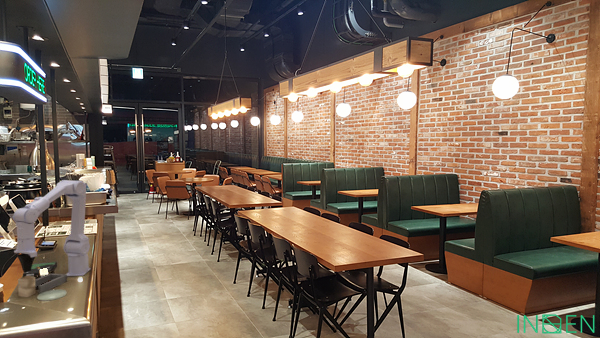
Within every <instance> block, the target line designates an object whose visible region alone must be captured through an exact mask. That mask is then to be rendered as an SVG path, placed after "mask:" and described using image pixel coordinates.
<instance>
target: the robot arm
mask: <svg viewBox="0 0 600 338" xmlns="http://www.w3.org/2000/svg"><path fill="white" fill-rule="evenodd" d="M63 195H64V196H66V197H68V198H70V200H71V201H72V204H71V220H70V221H71V222H70V234H69V235H68V236H67V237H65V242H64V244H63V251H64V252H65V254H66V256H67V261H68V262H67V265H68V267H67V268H68V270H67V271H68V272H66V274H65V275H67V277H81V276H82V277H83V276H84V275H86V274H87V273H88V272H89V271H91V267H90V266H89V255H88V253H89V251H90V250H91V249H90V248H91V245H90V241H89V240H90V238H89V237H88V236H87V235H86V234H85V221H86V220H85V218H86V205H87V204H86V202H87V184H86V183H85V182H84V181H83V180H72V179H71V180H67V179H62V180H60V181H59V182H57V183H56V186H54V188H52V189H51V190H50V191H49V192H48V193H47V194H45V195H44V196H37V197H35V198H34V199H33V200H32V201H31V202H29V203H28V204H26V205H25V206H23V207H21V208H17V209H16V210H15V211H14V213H13V215H12V216H11V217H12V218H11V219H12V220H13V221H14V223H15V226H16V238H17V239H16V240H17V245H16V246H15V247H16V248H15V250H13V252H14V254H16V257H17V259H18V260H19V262H20V265H21V268H22V272H23V273H24V272H29V271H31V268H32V265H33V264H34V260H35V259H36V257H38V252H37V247H36V235H35V233H36V232H35V222H37V220H38V218H39V216H40V215H41V214H42V213H43V212H45V210H47V209H48V208H50V205H51V203H52V202H54V201H55V200H57V199H58V198H61V196H63Z"/></svg>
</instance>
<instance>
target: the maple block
mask: <svg viewBox="0 0 600 338" xmlns="http://www.w3.org/2000/svg"><path fill="white" fill-rule="evenodd" d="M35 280H36V277H33V276H25V277H23V276H22V277H20V278H18V279H17V288H18V289H17V290H18V297H20V298H30V297H31V296H33V295H35V294H37V293H36V292H37V291H36V289H37V287H35Z"/></svg>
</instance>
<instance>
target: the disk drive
mask: <svg viewBox="0 0 600 338" xmlns="http://www.w3.org/2000/svg"><path fill="white" fill-rule="evenodd" d="M57 267H58V262H57V261H53V262H43V263H33V264H32V268H31V271H29V272H23V273H22V278H23V277H25V276H33V277H34V276H36V275H38V274H39V270H40V269H43V268H47V269H48V272H50V271H52V270H53V271H54V270H55V269H56V268H57Z"/></svg>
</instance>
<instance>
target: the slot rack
mask: <svg viewBox="0 0 600 338" xmlns="http://www.w3.org/2000/svg"><path fill="white" fill-rule="evenodd" d="M48 280H51V281H49V282H46V281H48ZM44 282H46V283H44ZM67 282H68V276H67V275H66V274H62V273H60V274H58V273H53V272H52V273H50V274H48V275H45V276H43V277H37V278H35V287H36V288H38V291H37V292H38V294H41V293H43V292H46V291H50V290H53V289H54V288H56V287H58V286H61V285H62V284H65V283H67ZM42 283H44V284H42ZM41 284H42V285H41ZM37 286H38V287H37Z"/></svg>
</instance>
